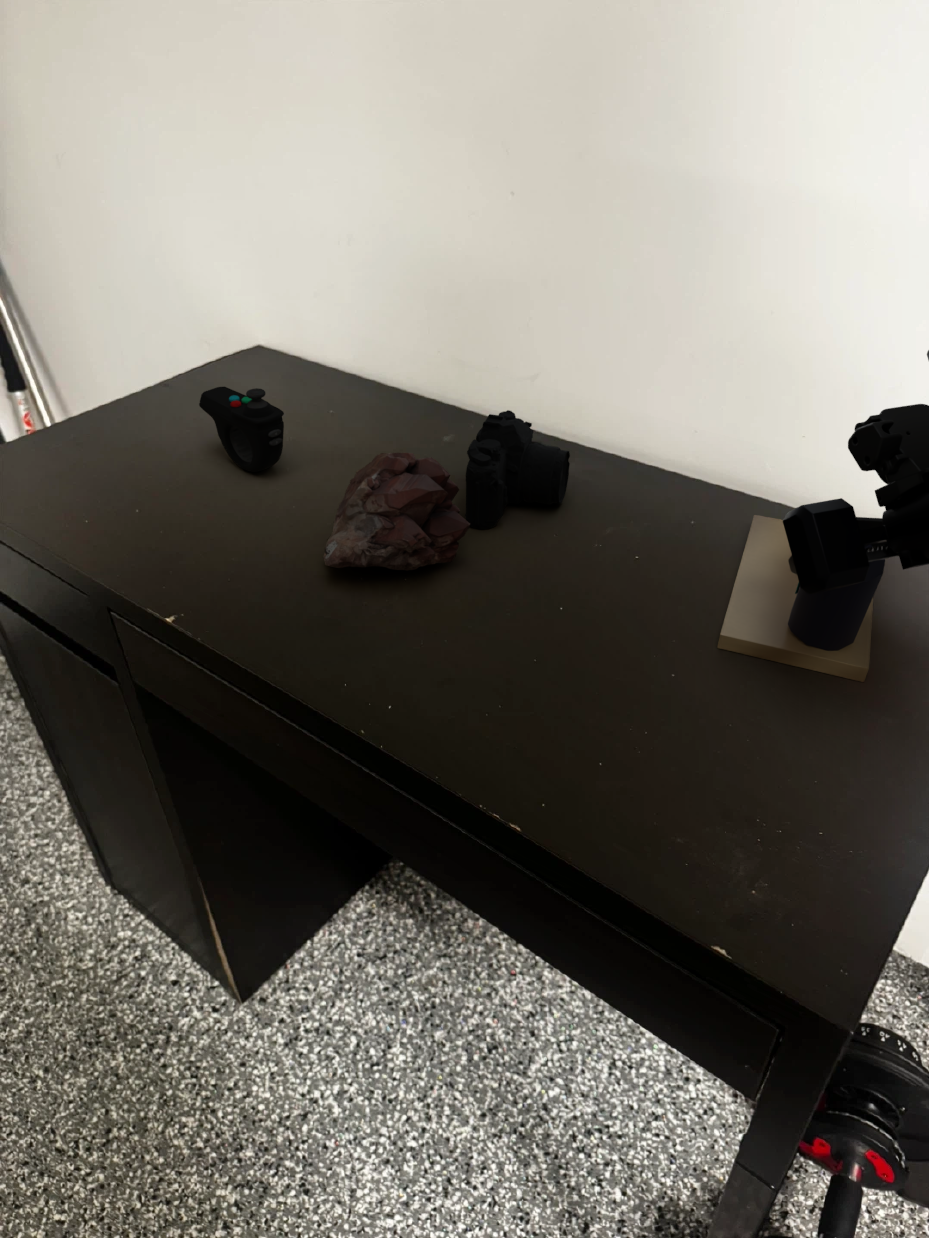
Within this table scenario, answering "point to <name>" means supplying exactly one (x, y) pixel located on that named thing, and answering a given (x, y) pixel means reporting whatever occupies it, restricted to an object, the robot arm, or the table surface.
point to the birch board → (781, 610)
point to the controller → (246, 426)
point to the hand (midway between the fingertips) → (837, 556)
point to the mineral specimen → (397, 516)
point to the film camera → (511, 470)
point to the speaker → (836, 606)
